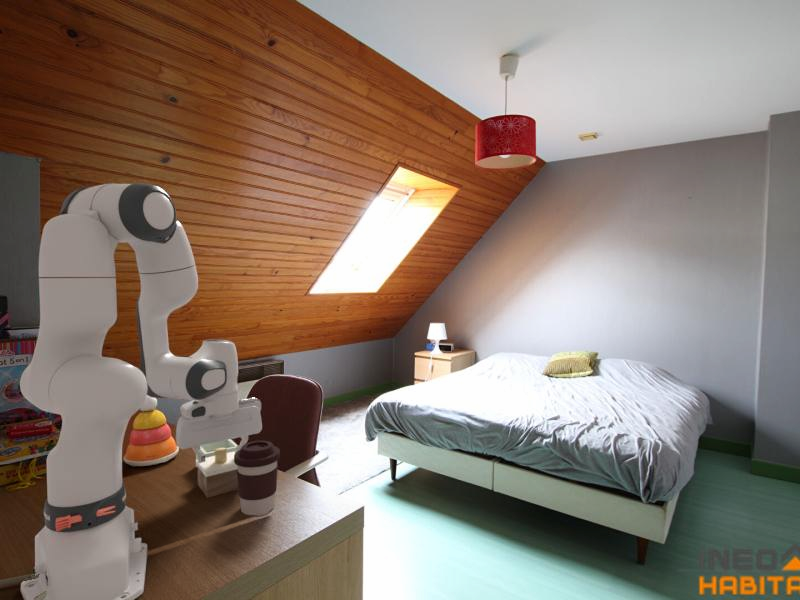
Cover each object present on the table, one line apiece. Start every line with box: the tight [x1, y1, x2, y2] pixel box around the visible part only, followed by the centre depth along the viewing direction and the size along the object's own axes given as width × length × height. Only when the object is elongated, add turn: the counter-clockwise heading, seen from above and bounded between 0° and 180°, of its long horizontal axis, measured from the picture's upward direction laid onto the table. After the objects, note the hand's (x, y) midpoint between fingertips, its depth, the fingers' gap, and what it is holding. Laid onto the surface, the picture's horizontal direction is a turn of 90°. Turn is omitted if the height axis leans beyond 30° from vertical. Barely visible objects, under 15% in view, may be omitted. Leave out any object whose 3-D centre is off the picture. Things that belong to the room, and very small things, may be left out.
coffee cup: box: [234, 440, 281, 518], centre depth 102 cm, size 10×10×15 cm
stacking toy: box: [123, 395, 180, 467], centre depth 132 cm, size 14×14×20 cm
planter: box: [195, 439, 238, 468], centre depth 124 cm, size 9×9×7 cm
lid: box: [195, 448, 238, 477], centre depth 113 cm, size 10×10×5 cm
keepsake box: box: [196, 466, 238, 499], centre depth 113 cm, size 9×9×6 cm
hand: (221, 457), depth 113 cm, fingers open, 8 cm apart
